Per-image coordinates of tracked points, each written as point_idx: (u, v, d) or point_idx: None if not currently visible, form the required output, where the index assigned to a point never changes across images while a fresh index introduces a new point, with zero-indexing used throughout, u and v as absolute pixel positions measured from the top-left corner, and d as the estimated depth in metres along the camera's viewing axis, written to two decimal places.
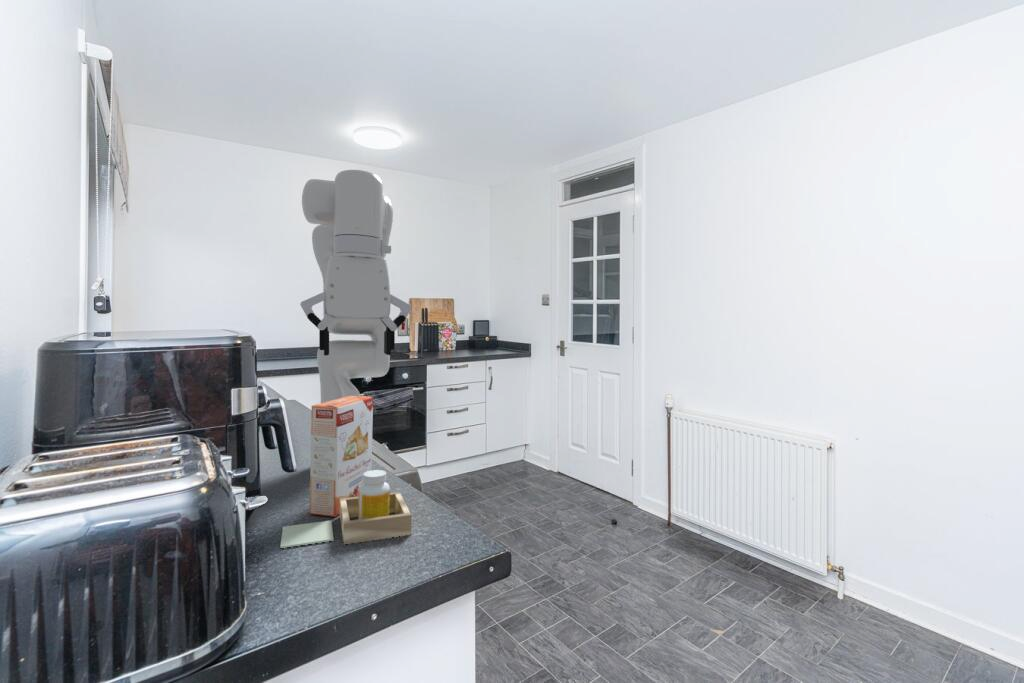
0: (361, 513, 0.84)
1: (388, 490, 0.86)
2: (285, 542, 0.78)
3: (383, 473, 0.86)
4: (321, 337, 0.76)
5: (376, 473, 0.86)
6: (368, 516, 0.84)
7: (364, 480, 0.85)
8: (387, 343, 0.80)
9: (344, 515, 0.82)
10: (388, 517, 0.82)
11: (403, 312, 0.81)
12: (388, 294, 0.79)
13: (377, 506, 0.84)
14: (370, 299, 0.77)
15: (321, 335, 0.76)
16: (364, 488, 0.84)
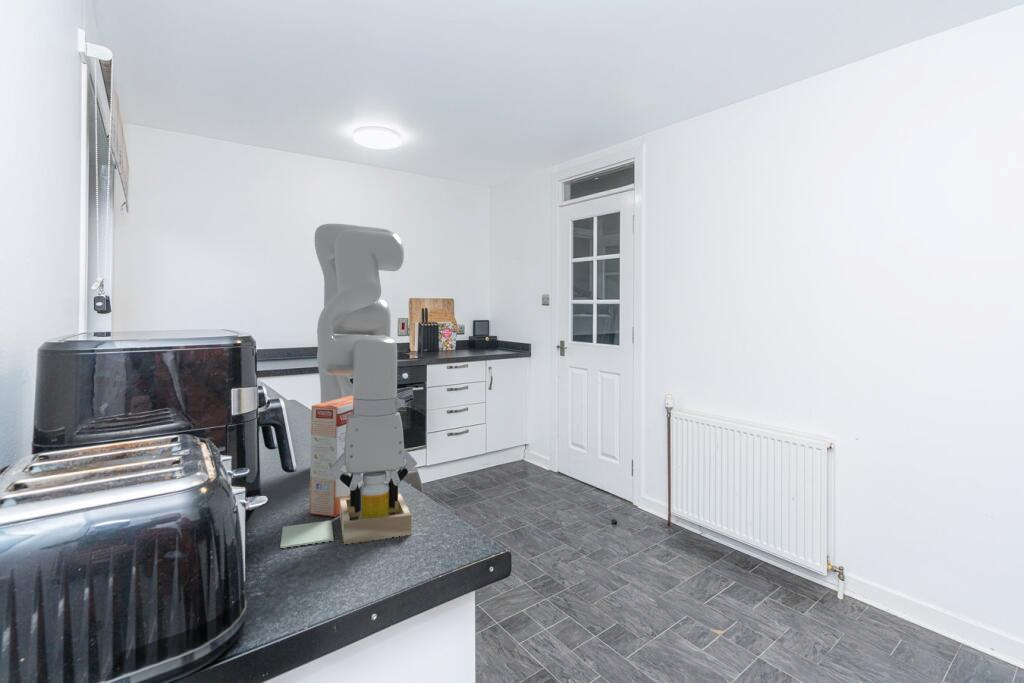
0: (361, 513, 0.84)
1: (388, 490, 0.86)
2: (285, 542, 0.78)
3: (383, 473, 0.86)
4: (352, 496, 0.84)
5: (376, 473, 0.86)
6: (368, 516, 0.84)
7: (364, 480, 0.85)
8: (391, 497, 0.86)
9: (344, 515, 0.82)
10: (388, 517, 0.82)
11: (408, 466, 0.88)
12: (402, 447, 0.86)
13: (377, 506, 0.84)
14: (386, 454, 0.84)
15: (352, 494, 0.84)
16: (363, 488, 0.84)
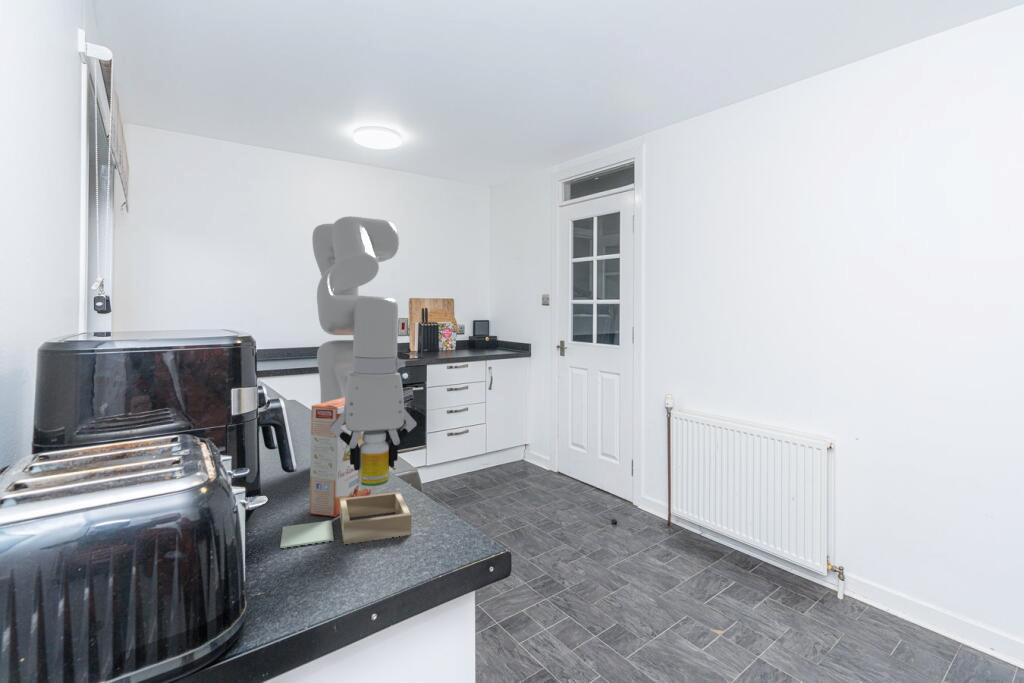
0: (361, 471, 0.85)
1: (388, 449, 0.86)
2: (285, 542, 0.78)
3: (383, 432, 0.86)
4: (352, 454, 0.84)
5: (376, 432, 0.86)
6: (368, 474, 0.84)
7: (364, 439, 0.85)
8: (391, 457, 0.86)
9: (344, 515, 0.82)
10: (388, 517, 0.82)
11: (408, 427, 0.88)
12: (402, 407, 0.86)
13: (376, 465, 0.84)
14: (386, 413, 0.85)
15: (352, 452, 0.84)
16: (363, 446, 0.85)
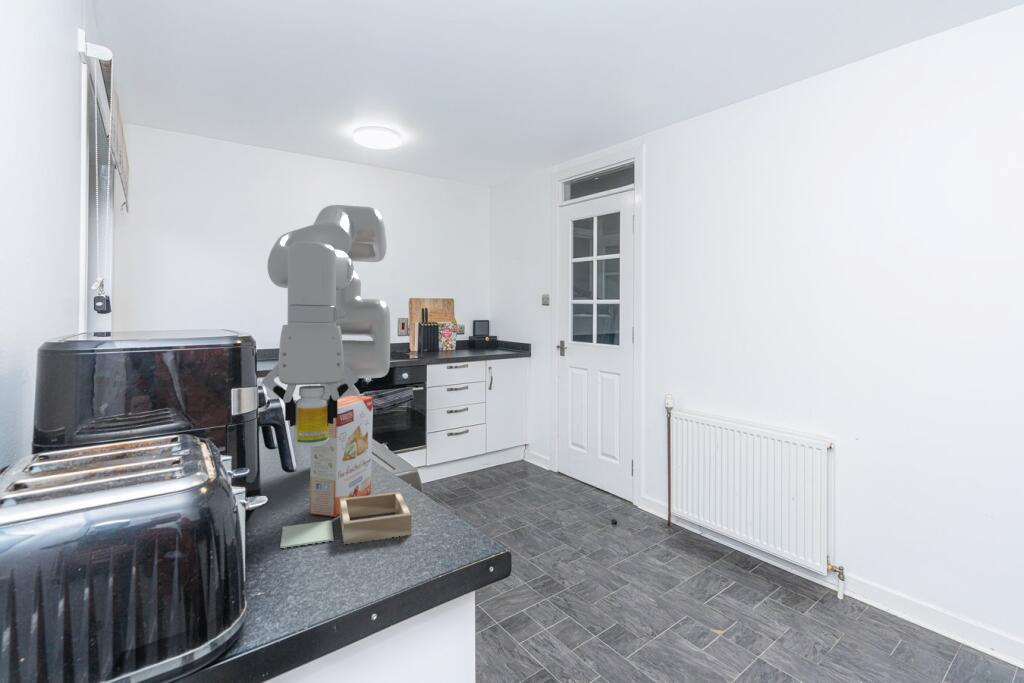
0: (297, 428, 0.80)
1: (326, 405, 0.81)
2: (285, 542, 0.78)
3: (321, 387, 0.81)
4: (287, 409, 0.79)
5: (313, 387, 0.81)
6: (303, 430, 0.79)
7: (300, 393, 0.80)
8: (329, 413, 0.81)
9: (344, 515, 0.82)
10: (388, 517, 0.82)
11: (348, 382, 0.83)
12: (341, 359, 0.81)
13: (313, 420, 0.79)
14: (323, 365, 0.80)
15: (287, 407, 0.79)
16: (299, 401, 0.80)
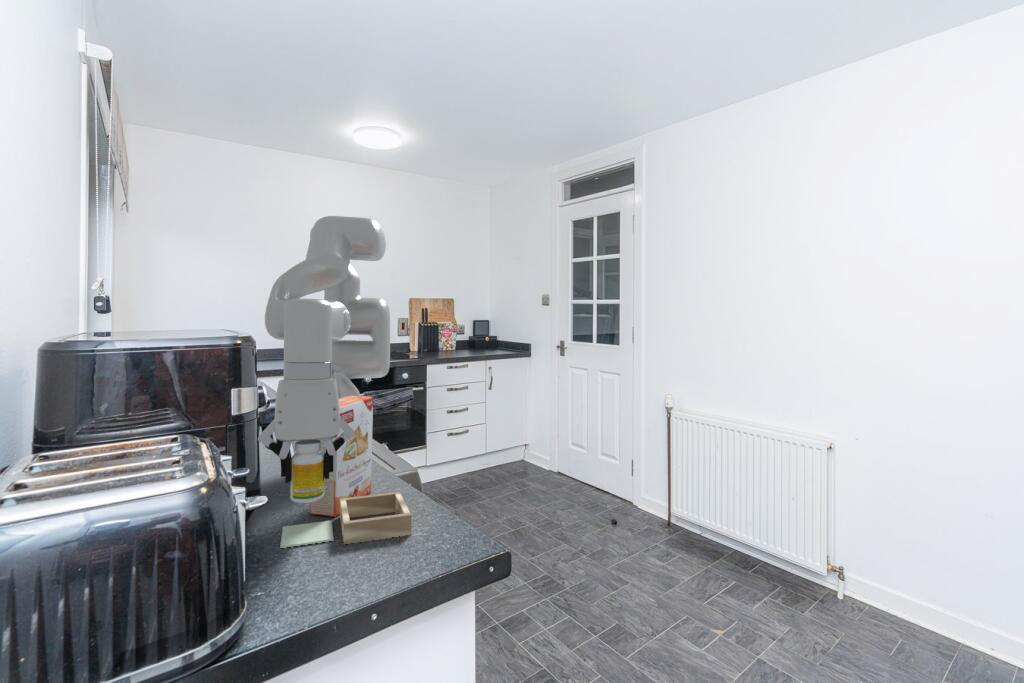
0: (292, 484, 0.80)
1: (322, 460, 0.81)
2: (285, 542, 0.78)
3: (317, 442, 0.81)
4: (282, 465, 0.79)
5: (309, 442, 0.81)
6: (299, 486, 0.79)
7: (295, 449, 0.80)
8: (325, 468, 0.81)
9: (344, 515, 0.82)
10: (388, 517, 0.82)
11: (344, 436, 0.83)
12: (337, 414, 0.81)
13: (308, 476, 0.79)
14: (319, 421, 0.80)
15: (282, 463, 0.79)
16: (295, 457, 0.80)
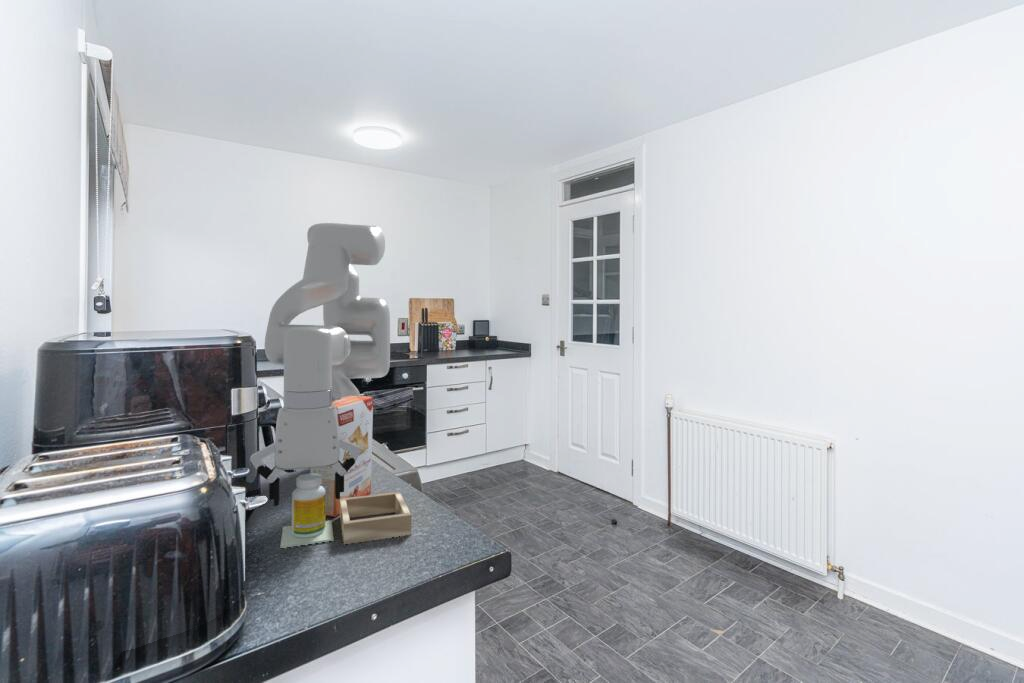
0: (293, 519, 0.80)
1: (323, 495, 0.82)
2: (285, 542, 0.78)
3: (318, 477, 0.82)
4: (271, 488, 0.79)
5: (310, 477, 0.82)
6: (300, 522, 0.80)
7: (296, 484, 0.81)
8: (336, 488, 0.82)
9: (344, 515, 0.82)
10: (388, 517, 0.82)
11: (353, 455, 0.84)
12: (337, 442, 0.82)
13: (309, 512, 0.80)
14: (319, 449, 0.80)
15: (271, 486, 0.79)
16: (296, 492, 0.80)
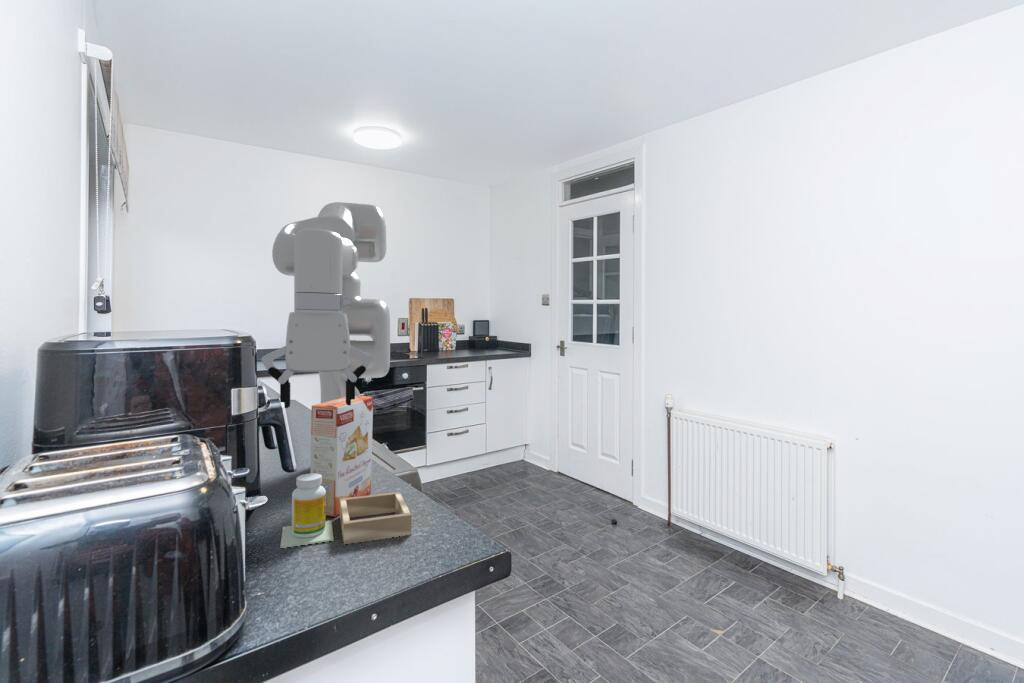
0: (294, 519, 0.80)
1: (323, 494, 0.82)
2: (285, 542, 0.78)
3: (318, 477, 0.82)
4: (282, 390, 0.79)
5: (310, 476, 0.82)
6: (300, 522, 0.80)
7: (297, 484, 0.81)
8: (347, 394, 0.82)
9: (344, 515, 0.82)
10: (388, 517, 0.82)
11: (363, 363, 0.84)
12: (347, 347, 0.81)
13: (309, 512, 0.80)
14: (329, 353, 0.80)
15: (282, 388, 0.79)
16: (296, 492, 0.80)
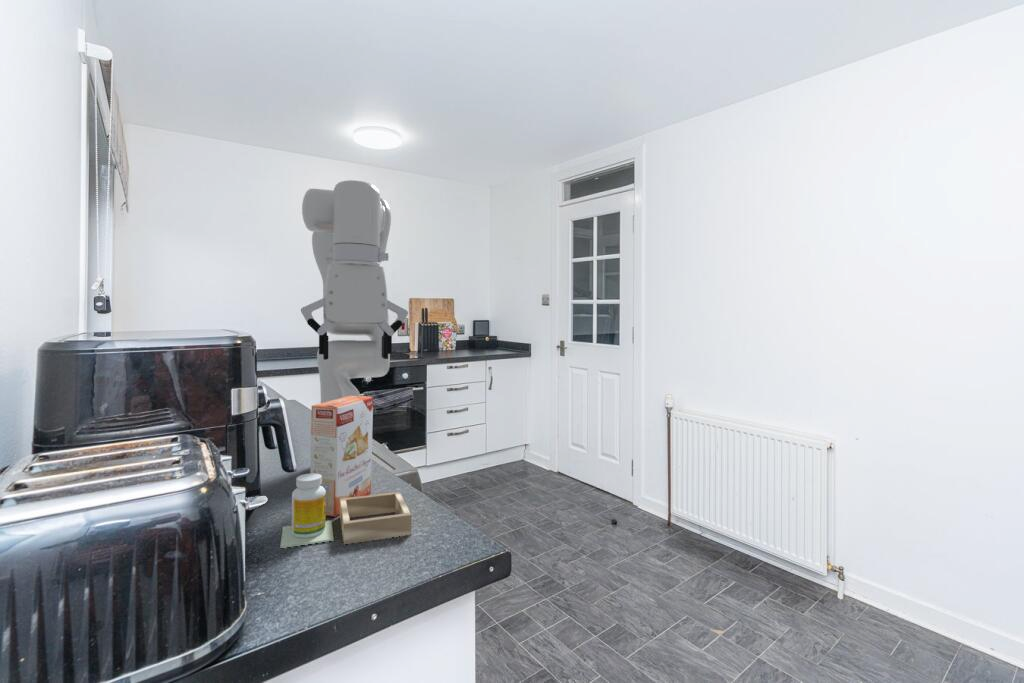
0: (293, 519, 0.80)
1: (323, 495, 0.82)
2: (285, 542, 0.78)
3: (318, 477, 0.82)
4: (321, 342, 0.79)
5: (310, 477, 0.82)
6: (300, 522, 0.80)
7: (297, 484, 0.81)
8: (384, 347, 0.82)
9: (344, 515, 0.82)
10: (388, 517, 0.82)
11: (400, 317, 0.84)
12: (385, 300, 0.82)
13: (309, 512, 0.80)
14: (368, 305, 0.80)
15: (321, 340, 0.79)
16: (296, 492, 0.80)
